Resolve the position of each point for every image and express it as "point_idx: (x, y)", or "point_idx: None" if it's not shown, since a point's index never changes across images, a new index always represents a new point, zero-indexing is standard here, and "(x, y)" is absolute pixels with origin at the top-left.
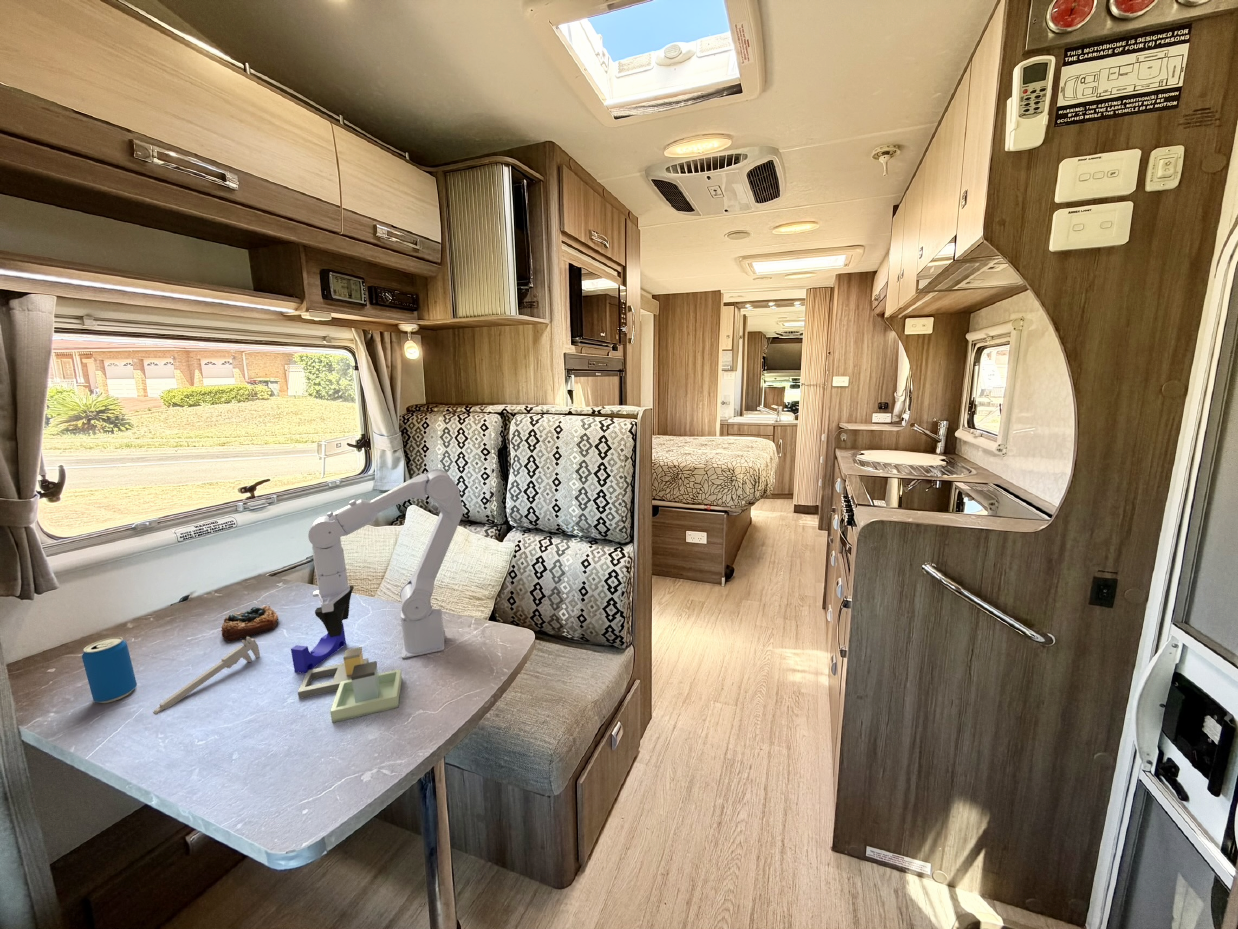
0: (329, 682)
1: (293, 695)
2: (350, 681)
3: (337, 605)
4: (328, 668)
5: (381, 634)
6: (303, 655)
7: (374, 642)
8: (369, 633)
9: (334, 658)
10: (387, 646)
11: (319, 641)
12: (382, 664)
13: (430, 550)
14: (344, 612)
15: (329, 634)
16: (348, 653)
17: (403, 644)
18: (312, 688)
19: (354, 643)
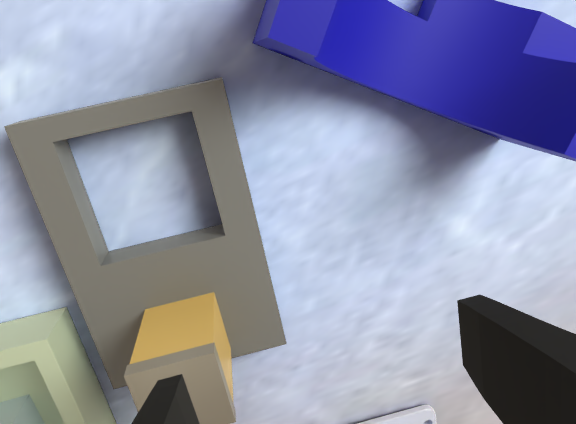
0: (89, 255)
1: (51, 75)
2: (47, 382)
3: (570, 419)
4: (222, 190)
5: (535, 277)
6: (268, 40)
7: (470, 274)
8: (568, 216)
9: (372, 137)
10: (415, 344)
11: (516, 10)
12: (268, 380)
13: None
14: (503, 396)
15: (146, 402)
16: None
17: (396, 418)
18: (36, 194)
19: (493, 180)
